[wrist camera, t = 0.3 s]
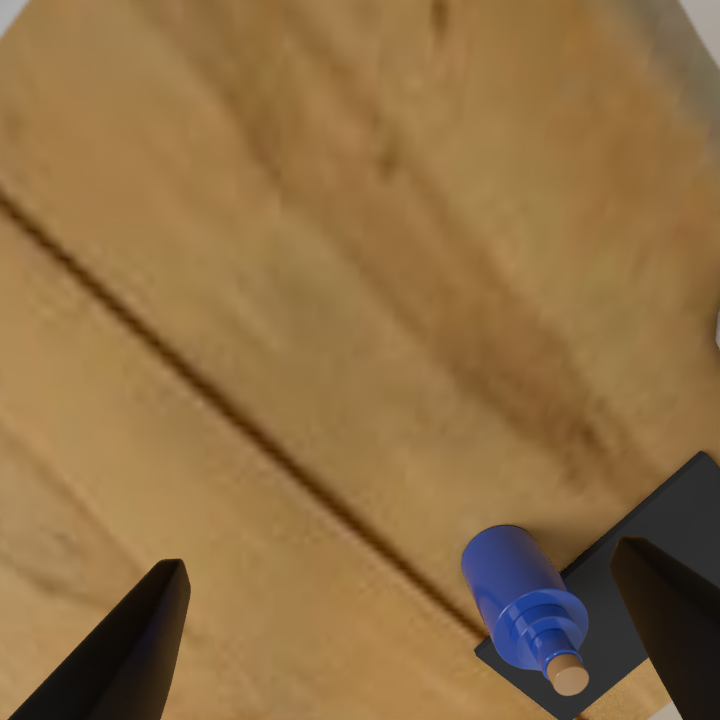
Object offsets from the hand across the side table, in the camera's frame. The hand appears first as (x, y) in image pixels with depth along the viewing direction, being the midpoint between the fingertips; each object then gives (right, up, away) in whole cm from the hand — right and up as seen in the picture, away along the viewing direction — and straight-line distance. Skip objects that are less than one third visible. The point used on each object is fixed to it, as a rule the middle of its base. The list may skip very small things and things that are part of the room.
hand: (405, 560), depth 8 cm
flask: (+8, -9, +18) cm, 22 cm away
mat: (+17, -12, +20) cm, 29 cm away
